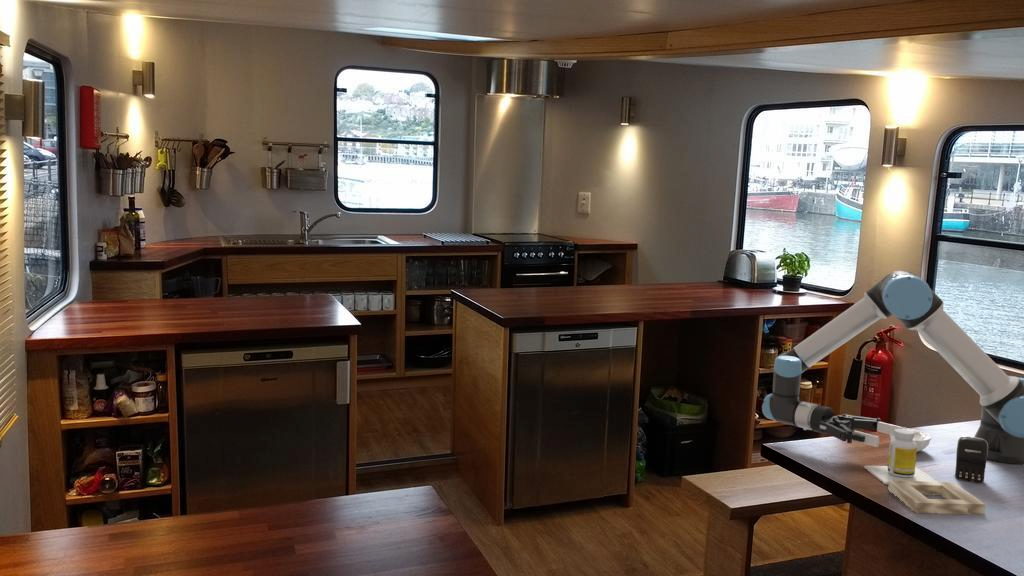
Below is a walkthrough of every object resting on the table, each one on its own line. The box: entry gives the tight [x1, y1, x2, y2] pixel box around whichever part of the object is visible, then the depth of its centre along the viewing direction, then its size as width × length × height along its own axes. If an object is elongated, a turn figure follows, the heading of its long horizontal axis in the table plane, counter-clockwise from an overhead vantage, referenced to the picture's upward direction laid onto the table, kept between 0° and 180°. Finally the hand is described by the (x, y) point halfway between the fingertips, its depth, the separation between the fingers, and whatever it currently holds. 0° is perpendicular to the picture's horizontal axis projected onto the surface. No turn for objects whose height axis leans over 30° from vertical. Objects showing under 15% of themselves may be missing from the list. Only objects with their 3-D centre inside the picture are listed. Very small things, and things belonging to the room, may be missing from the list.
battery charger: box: [954, 435, 988, 484], centre depth 209 cm, size 7×4×11 cm, turn 61°
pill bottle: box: [887, 429, 918, 477], centre depth 211 cm, size 6×6×12 cm
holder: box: [887, 481, 986, 515], centre depth 195 cm, size 16×14×2 cm
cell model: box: [889, 427, 933, 453], centre depth 234 cm, size 10×12×7 cm
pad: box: [863, 465, 938, 485], centre depth 212 cm, size 14×12×1 cm
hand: (890, 437), depth 213 cm, fingers open, 13 cm apart
